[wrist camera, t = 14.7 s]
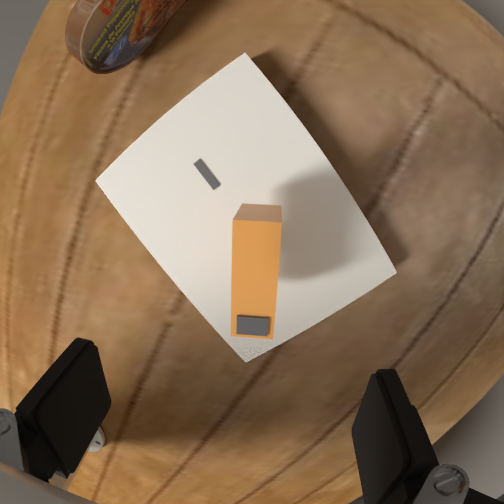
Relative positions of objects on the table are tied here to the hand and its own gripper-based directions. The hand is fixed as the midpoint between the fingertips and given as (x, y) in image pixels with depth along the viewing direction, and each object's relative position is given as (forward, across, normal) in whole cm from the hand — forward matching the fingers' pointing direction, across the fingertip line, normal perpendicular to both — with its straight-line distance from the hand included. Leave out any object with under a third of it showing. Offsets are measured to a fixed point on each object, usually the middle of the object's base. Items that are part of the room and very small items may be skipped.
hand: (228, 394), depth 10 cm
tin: (+17, +9, -20) cm, 28 cm away
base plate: (+17, +1, -2) cm, 17 cm away
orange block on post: (+13, 0, 0) cm, 13 cm away
